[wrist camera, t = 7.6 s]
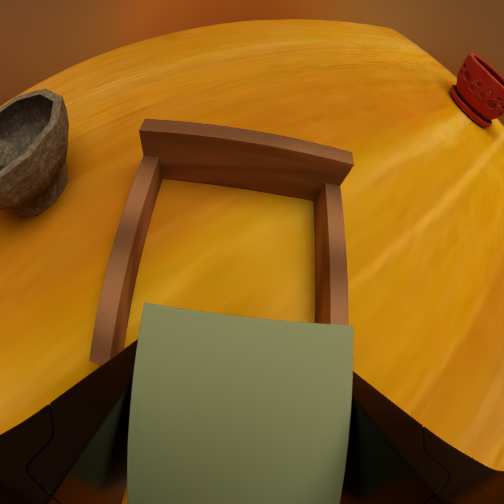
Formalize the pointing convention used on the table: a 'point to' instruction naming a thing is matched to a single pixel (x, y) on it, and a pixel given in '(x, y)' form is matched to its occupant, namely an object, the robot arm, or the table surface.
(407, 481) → the robot arm
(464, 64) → the plant pot
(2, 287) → the table surface
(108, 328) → the frame
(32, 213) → the mortar and pestle
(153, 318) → the green block
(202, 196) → the table surface
